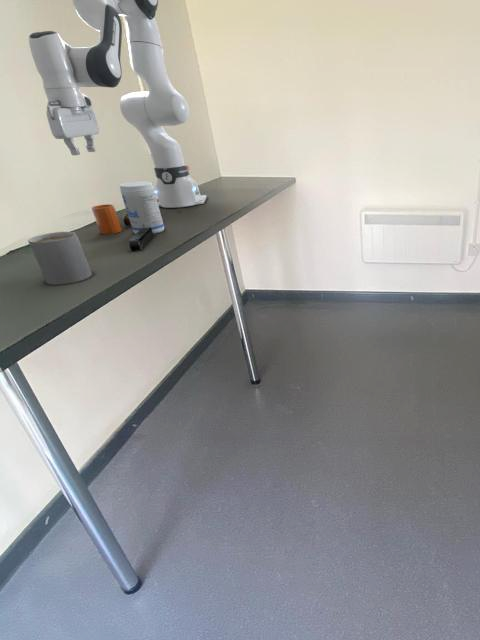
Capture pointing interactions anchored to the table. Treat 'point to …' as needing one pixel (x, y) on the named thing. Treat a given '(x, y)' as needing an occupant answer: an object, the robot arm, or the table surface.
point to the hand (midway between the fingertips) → (84, 153)
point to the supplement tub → (142, 206)
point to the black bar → (141, 239)
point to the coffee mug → (60, 257)
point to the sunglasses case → (127, 221)
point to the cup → (106, 219)
